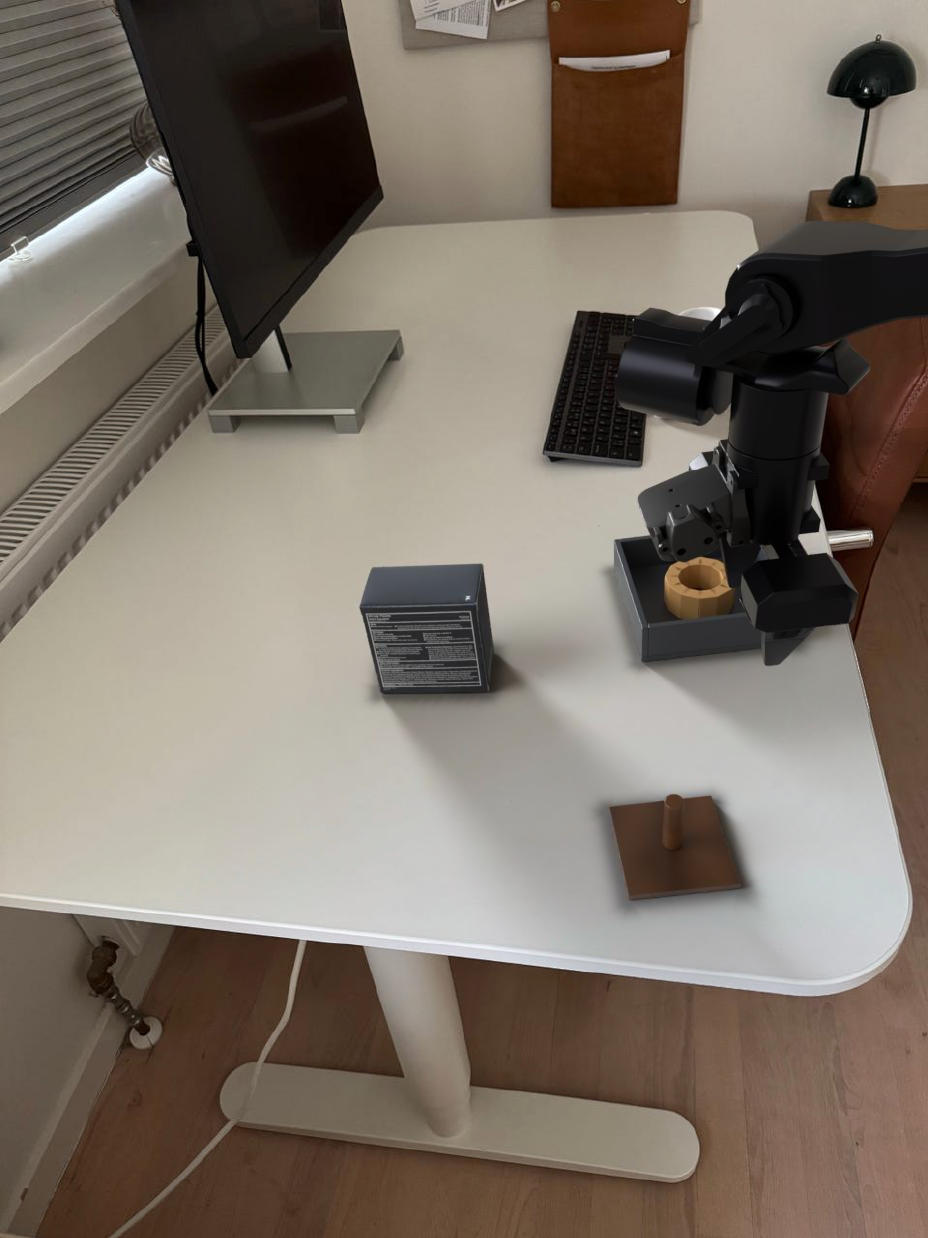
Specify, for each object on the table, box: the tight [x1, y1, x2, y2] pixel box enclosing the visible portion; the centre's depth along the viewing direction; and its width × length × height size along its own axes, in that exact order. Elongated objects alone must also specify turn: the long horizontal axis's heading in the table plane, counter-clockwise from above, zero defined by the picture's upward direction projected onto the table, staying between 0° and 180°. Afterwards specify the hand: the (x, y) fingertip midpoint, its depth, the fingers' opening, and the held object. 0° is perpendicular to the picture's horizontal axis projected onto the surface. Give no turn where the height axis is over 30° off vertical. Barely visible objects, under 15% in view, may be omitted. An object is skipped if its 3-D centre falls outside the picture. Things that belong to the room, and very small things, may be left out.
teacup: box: [678, 306, 723, 321], centre depth 130 cm, size 10×8×5 cm
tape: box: [664, 557, 735, 620], centre depth 86 cm, size 6×6×3 cm
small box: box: [358, 563, 495, 694], centre depth 81 cm, size 11×6×10 cm, turn 84°
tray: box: [613, 534, 767, 663], centre depth 86 cm, size 14×14×4 cm
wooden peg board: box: [608, 793, 742, 901], centre depth 65 cm, size 8×8×6 cm
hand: (752, 623), depth 67 cm, fingers open, 9 cm apart
